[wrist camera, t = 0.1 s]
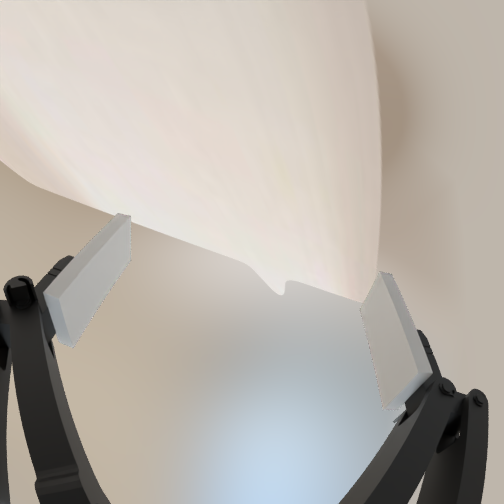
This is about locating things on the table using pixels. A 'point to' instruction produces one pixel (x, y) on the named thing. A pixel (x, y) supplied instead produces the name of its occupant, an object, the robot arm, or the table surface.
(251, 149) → the table surface
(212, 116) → the table surface
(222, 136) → the table surface
